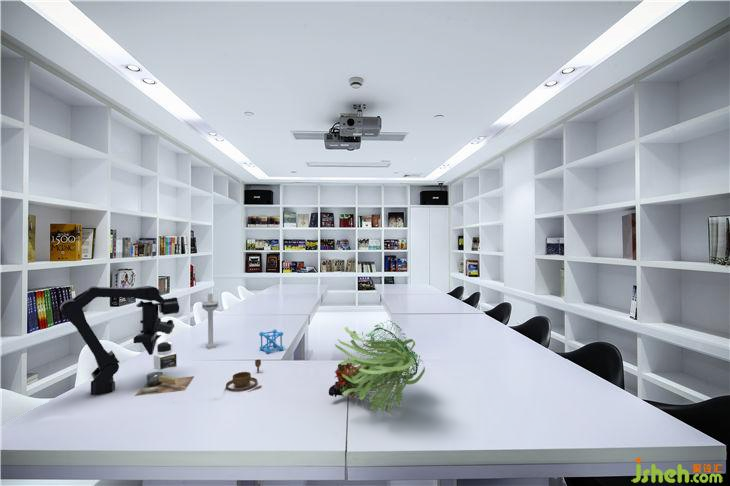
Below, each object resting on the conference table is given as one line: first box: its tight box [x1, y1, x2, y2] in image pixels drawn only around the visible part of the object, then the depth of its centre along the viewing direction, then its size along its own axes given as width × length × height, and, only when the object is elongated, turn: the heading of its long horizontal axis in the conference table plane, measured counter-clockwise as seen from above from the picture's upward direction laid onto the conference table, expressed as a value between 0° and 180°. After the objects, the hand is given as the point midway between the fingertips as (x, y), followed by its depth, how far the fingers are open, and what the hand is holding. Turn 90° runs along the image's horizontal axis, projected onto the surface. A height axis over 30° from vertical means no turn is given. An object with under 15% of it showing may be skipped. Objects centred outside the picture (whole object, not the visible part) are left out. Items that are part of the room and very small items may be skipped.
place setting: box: [225, 359, 262, 393], centre depth 143 cm, size 18×20×6 cm
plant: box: [328, 319, 426, 418], centre depth 119 cm, size 35×35×40 cm
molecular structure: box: [258, 329, 284, 354], centre depth 187 cm, size 10×10×10 cm
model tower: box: [201, 293, 219, 350], centre depth 194 cm, size 8×8×30 cm
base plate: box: [134, 375, 195, 397], centre depth 137 cm, size 17×15×3 cm
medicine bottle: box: [153, 341, 178, 370], centre depth 161 cm, size 7×7×12 cm
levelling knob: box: [146, 371, 180, 386], centre depth 137 cm, size 16×6×4 cm, turn 65°
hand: (150, 354), depth 143 cm, fingers closed
